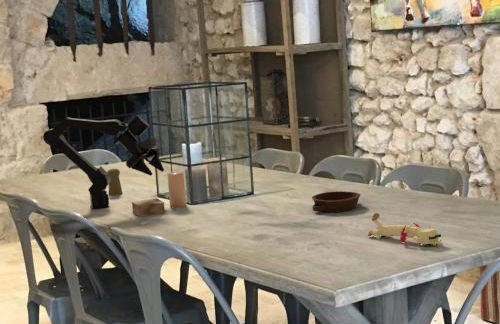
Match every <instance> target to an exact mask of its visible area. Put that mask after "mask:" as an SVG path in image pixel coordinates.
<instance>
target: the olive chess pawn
mask: <svg viewBox="0 0 500 324" xmlns="http://www.w3.org/2000/svg"><path fill="white" fill-rule="evenodd" d="M107 172H109V173H108V175H109V176H110V183H109V185H108V196H119V195H123V190H122V184H121V180H120V174H121V172H120V170H119V169H118V168H110V169H108V170H107Z"/></svg>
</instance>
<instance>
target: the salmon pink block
mask: <svg viewBox="0 0 500 324" xmlns="http://www.w3.org/2000/svg"><path fill="white" fill-rule="evenodd" d="M185 183H186V182H185V173H184V172H183V171H174V172H168V173H167V185H168V197H169V199H168V200H169V208H171V209H172V208H173V209H176V208H177V209H179V208H185V207H186V206H187V197H186V185H185Z"/></svg>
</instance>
